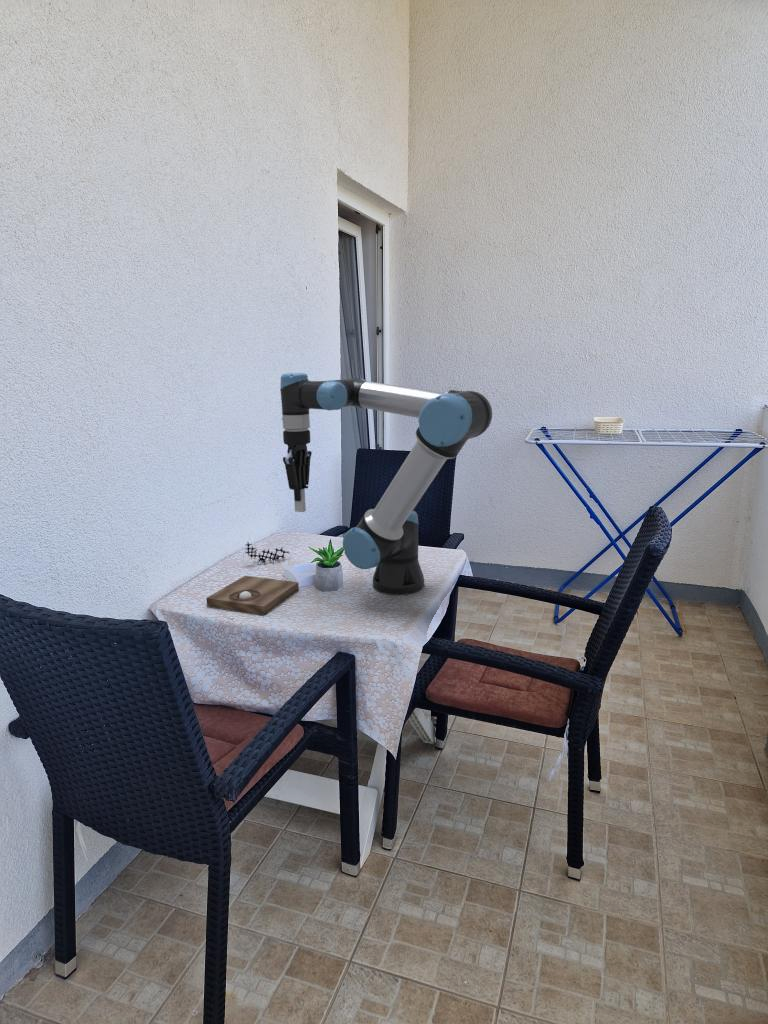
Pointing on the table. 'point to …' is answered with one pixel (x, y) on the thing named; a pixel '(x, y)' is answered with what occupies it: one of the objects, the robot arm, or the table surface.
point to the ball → (245, 595)
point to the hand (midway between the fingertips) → (300, 511)
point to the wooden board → (253, 595)
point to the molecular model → (266, 554)
